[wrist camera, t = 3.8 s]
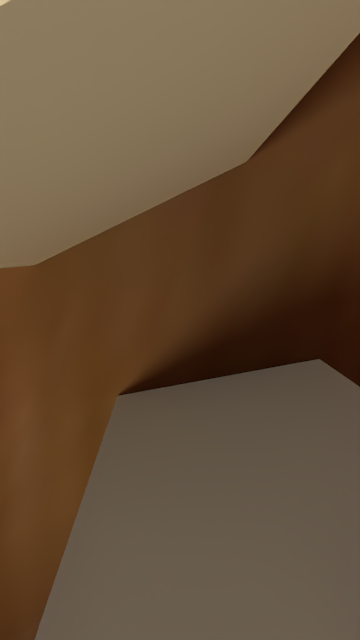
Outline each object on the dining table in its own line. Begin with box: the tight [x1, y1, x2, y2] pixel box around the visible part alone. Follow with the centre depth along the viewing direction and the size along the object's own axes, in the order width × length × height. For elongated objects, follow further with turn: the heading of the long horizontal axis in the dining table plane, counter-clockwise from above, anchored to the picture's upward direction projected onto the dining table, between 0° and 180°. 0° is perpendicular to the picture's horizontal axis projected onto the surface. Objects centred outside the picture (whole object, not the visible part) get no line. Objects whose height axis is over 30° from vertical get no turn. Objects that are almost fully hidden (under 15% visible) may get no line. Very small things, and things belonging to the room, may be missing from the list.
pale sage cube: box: [35, 359, 360, 640], centre depth 9 cm, size 8×8×9 cm
